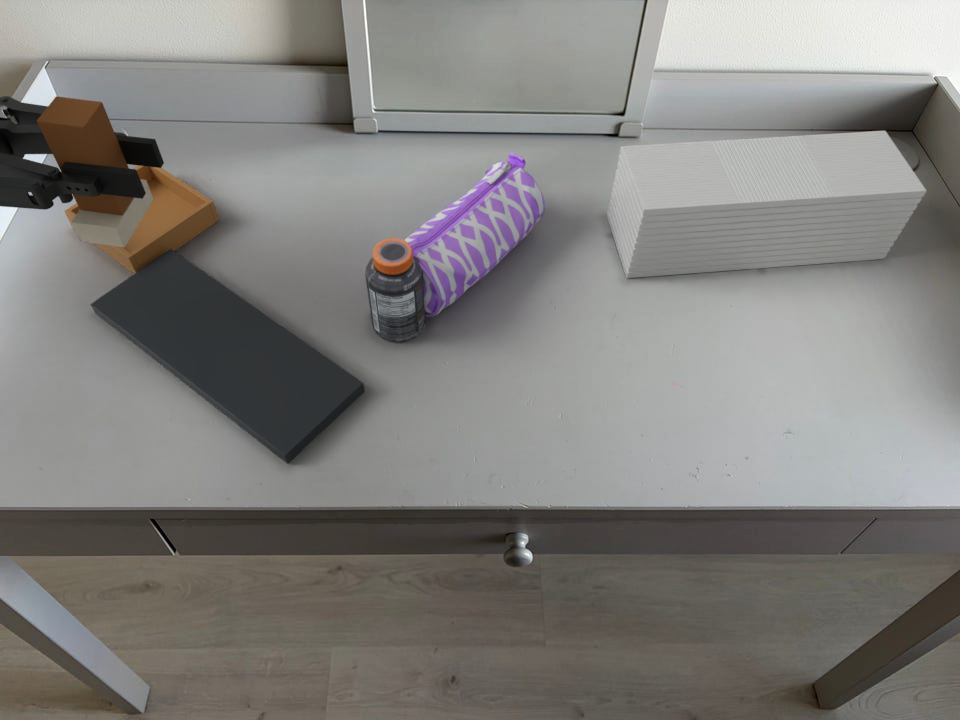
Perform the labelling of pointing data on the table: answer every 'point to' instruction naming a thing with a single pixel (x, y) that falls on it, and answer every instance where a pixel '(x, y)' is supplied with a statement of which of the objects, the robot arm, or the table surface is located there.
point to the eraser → (91, 140)
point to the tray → (161, 220)
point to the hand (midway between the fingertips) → (148, 168)
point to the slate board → (230, 353)
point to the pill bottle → (395, 291)
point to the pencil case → (476, 232)
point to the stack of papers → (759, 202)
